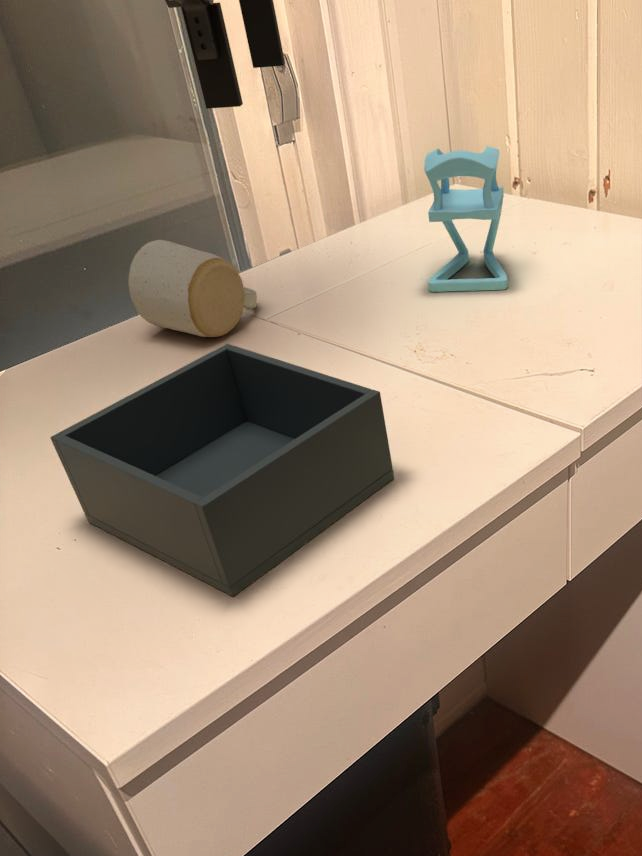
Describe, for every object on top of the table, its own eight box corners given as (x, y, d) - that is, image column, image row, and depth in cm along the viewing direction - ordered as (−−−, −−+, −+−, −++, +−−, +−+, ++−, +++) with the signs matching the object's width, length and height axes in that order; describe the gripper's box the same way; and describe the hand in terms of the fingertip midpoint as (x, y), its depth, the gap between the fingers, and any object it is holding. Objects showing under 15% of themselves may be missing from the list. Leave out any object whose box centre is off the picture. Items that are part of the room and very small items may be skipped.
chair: (514, 257, 94) (508, 127, 86) (507, 289, 88) (499, 154, 80) (440, 259, 95) (427, 132, 87) (428, 292, 89) (413, 158, 81)
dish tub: (87, 522, 64) (49, 436, 60) (249, 424, 73) (227, 343, 68) (233, 597, 57) (201, 506, 52) (394, 478, 65) (380, 391, 61)
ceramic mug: (205, 353, 83) (181, 267, 78) (142, 338, 86) (114, 255, 81) (280, 308, 89) (262, 227, 84) (218, 297, 93) (198, 217, 87)
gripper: (158, -298, 51) (252, 123, 66) (270, -278, 69) (324, 49, 84) (33, -283, 52) (152, 129, 67) (176, -267, 70) (245, 54, 85)
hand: (248, 85), depth 75 cm, fingers open, 13 cm apart
